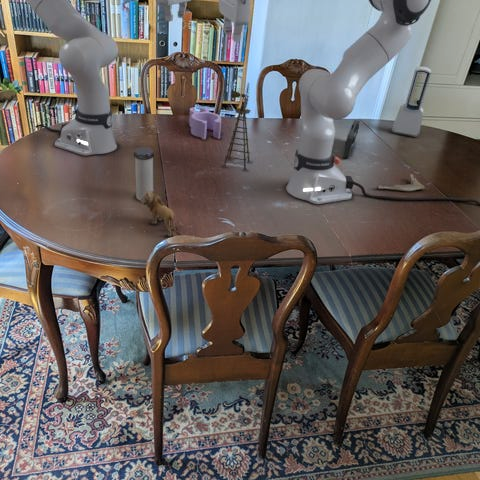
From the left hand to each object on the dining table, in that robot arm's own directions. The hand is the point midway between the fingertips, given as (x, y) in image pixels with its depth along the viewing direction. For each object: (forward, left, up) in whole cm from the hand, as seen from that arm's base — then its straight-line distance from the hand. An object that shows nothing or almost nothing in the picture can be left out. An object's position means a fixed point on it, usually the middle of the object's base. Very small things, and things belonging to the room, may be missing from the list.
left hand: (175, 19), depth 144 cm
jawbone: (+80, +21, -48) cm, 95 cm away
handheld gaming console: (+60, +47, -48) cm, 90 cm away
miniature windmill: (+21, +10, -48) cm, 53 cm away
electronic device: (+83, +83, -48) cm, 127 cm away
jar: (+2, -28, -48) cm, 56 cm away
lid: (+2, -28, -33) cm, 43 cm away
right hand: (+23, -16, 0) cm, 28 cm away
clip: (-2, +37, -48) cm, 61 cm away
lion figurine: (+14, -42, -48) cm, 65 cm away
